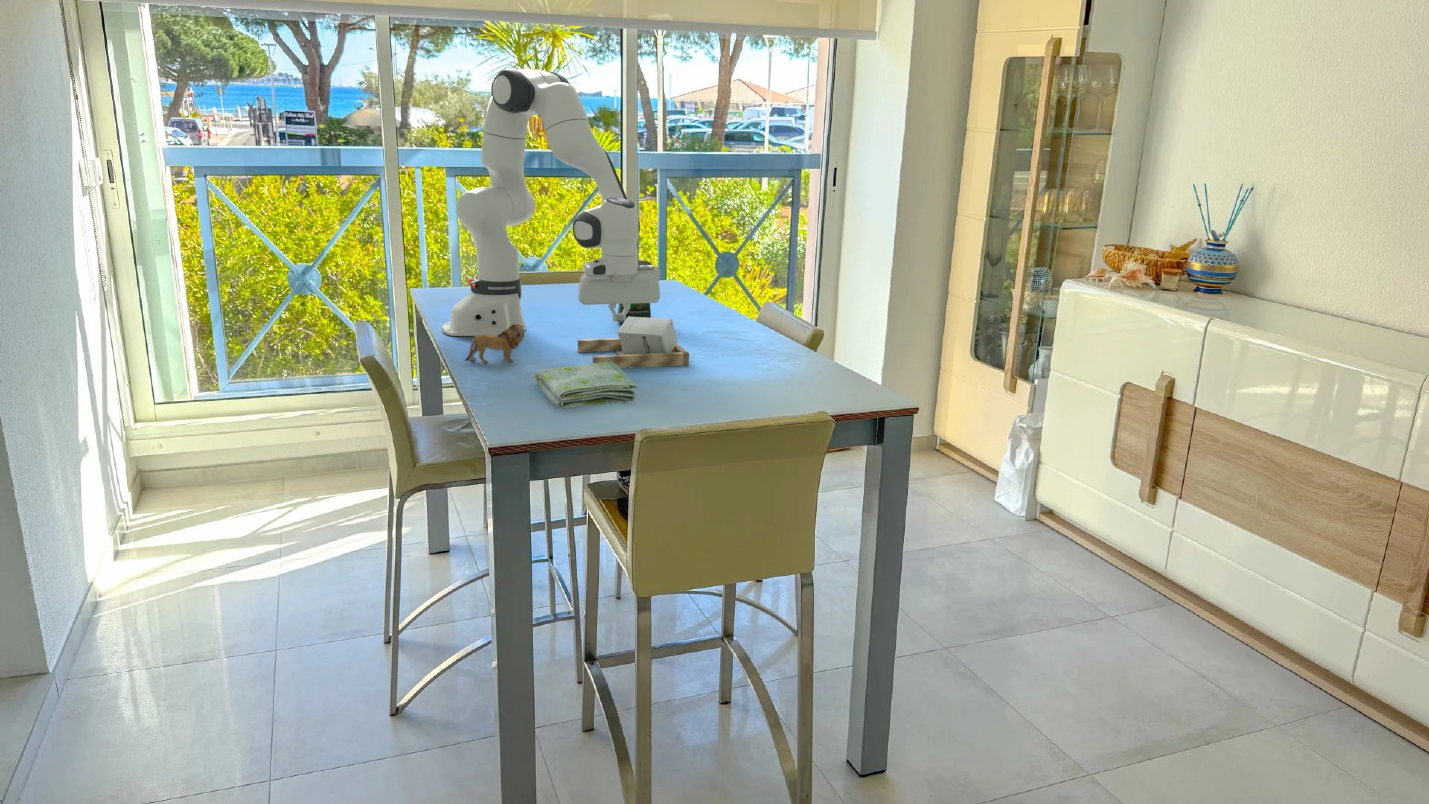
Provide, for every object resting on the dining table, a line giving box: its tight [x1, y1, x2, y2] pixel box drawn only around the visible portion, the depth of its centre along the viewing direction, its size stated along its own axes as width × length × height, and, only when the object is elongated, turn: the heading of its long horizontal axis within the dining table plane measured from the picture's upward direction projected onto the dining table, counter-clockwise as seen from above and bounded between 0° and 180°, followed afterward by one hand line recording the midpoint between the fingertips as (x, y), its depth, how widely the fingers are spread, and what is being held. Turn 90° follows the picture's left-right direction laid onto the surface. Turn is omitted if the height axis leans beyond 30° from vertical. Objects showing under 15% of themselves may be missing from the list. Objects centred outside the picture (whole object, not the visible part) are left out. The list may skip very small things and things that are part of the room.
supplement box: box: [616, 317, 678, 355], centre depth 247 cm, size 7×7×13 cm
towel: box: [534, 361, 638, 409], centre depth 216 cm, size 18×21×5 cm
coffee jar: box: [617, 259, 652, 325], centre depth 284 cm, size 10×8×19 cm
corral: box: [577, 337, 690, 369], centre depth 248 cm, size 24×19×3 cm
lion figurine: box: [464, 324, 525, 364], centre depth 239 cm, size 15×5×9 cm, turn 117°
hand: (619, 321), depth 244 cm, fingers closed
